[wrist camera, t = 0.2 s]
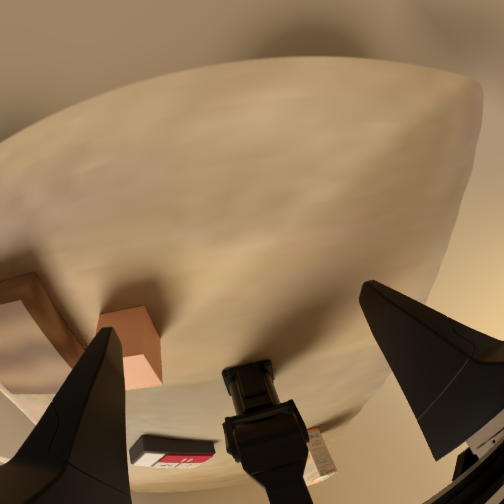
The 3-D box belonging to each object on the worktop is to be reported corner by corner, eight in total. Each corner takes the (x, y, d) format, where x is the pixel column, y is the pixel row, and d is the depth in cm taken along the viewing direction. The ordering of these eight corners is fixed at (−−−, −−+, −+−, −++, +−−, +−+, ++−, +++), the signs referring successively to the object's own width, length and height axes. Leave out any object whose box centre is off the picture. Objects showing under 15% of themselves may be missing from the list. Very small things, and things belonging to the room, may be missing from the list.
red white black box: (195, 469, 49) (130, 467, 42) (191, 453, 53) (128, 449, 45) (217, 456, 46) (144, 454, 38) (212, 438, 49) (141, 433, 41)
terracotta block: (160, 338, 29) (162, 384, 24) (118, 345, 28) (116, 391, 23) (144, 305, 26) (143, 354, 21) (99, 314, 25) (91, 361, 20)
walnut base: (95, 363, 29) (92, 391, 25) (17, 370, 27) (12, 394, 23) (34, 272, 21) (20, 300, 18) (-41, 294, 19) (-55, 317, 15)
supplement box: (306, 439, 61) (323, 480, 50) (289, 443, 60) (306, 486, 49) (319, 426, 57) (339, 471, 46) (301, 430, 56) (320, 478, 45)
